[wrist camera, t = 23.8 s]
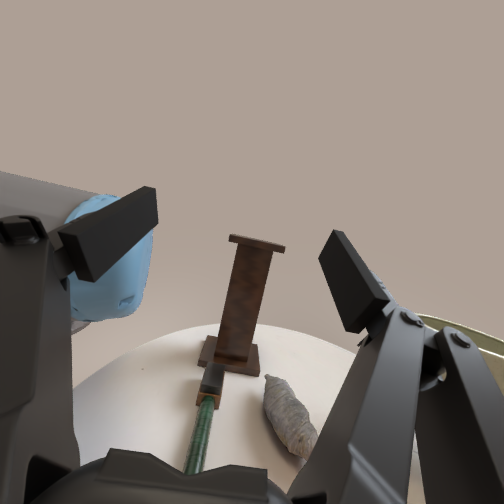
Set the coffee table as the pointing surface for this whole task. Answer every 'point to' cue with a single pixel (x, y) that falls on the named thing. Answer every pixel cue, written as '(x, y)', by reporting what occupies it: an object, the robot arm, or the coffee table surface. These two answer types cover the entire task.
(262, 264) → the stand
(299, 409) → the seashell
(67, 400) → the robot arm
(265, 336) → the coffee table surface
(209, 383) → the brush
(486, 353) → the planter
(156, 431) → the coffee table surface
